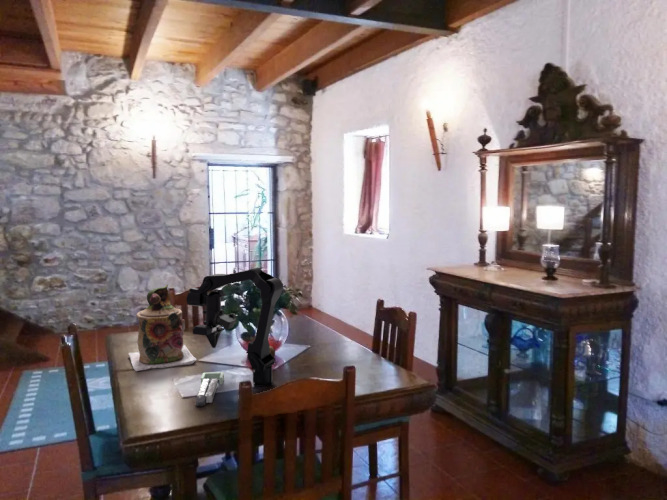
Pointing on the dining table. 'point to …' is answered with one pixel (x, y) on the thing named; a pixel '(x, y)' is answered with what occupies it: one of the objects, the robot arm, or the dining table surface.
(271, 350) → the mushroom
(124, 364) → the dining table surface
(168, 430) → the dining table surface
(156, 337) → the cookie jar
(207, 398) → the tongs fixed arm
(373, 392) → the dining table surface
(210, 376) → the lock clip
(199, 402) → the tong arm
